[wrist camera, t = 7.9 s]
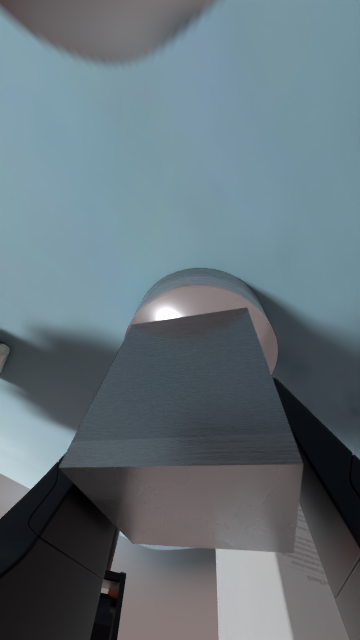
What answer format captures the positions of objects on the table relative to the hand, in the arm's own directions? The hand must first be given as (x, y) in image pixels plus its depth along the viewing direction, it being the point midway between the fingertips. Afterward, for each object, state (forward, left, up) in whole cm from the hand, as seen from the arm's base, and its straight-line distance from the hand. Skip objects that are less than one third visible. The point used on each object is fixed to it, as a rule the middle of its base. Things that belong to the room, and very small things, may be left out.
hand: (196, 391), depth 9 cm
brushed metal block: (0, 0, -2) cm, 2 cm away
